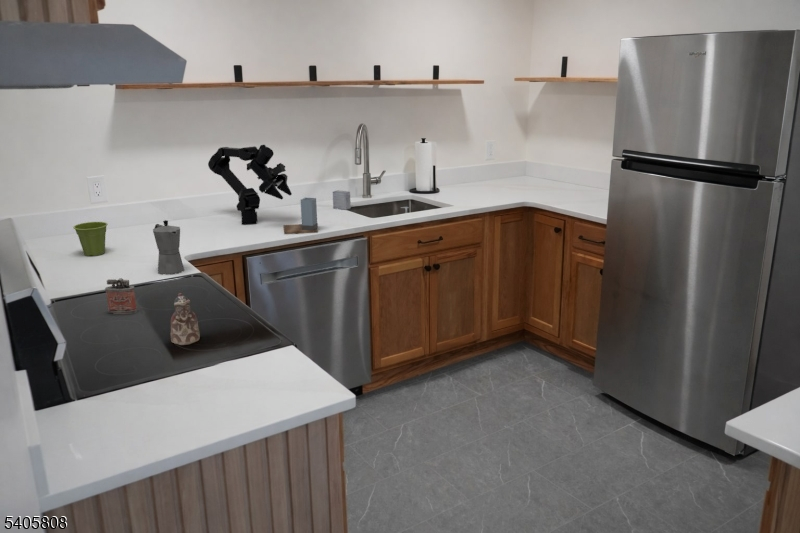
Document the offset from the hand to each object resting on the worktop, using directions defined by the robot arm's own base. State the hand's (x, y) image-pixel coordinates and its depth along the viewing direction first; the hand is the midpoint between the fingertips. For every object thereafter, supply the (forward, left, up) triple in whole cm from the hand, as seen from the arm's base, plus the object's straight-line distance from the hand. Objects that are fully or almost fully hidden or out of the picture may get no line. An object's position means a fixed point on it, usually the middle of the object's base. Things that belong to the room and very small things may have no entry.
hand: (286, 196), depth 286 cm
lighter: (-51, -96, -14) cm, 110 cm away
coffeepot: (-43, -56, -14) cm, 72 cm away
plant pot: (-74, -27, -14) cm, 80 cm away
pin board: (+5, -6, -14) cm, 16 cm away
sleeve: (+9, -9, -13) cm, 18 cm away
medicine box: (+28, +35, -14) cm, 46 cm away
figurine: (-31, -121, -14) cm, 126 cm away
